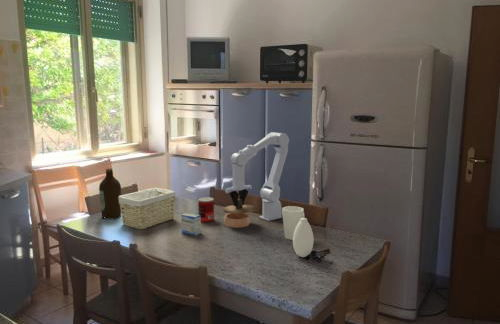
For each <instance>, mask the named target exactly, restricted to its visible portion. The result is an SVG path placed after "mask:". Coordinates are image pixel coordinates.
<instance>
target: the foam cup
mask: <svg viewBox="0 0 500 324" xmlns="http://www.w3.org/2000/svg"><path fill="white" fill-rule="evenodd" d="M304 211H305V210H304V208H303V207H300V206H296V205H295V206H293V205H292V206H291V205H288V206H284V207H281V216H282V222H283V231H284V238H285V239H287V240H291V241H293V235H294V231H295V228H296V226H297V224H298V223H299V222H300V219H301V218H303V213H304V214H305V212H304Z"/></svg>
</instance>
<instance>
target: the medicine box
mask: <svg viewBox="0 0 500 324" xmlns="http://www.w3.org/2000/svg"><path fill="white" fill-rule="evenodd" d="M180 216H181V217H180V218H181V219H180V220H181V225H180V227H181V234H184V233H185V234H184V235H189V234H190V236H198V235H199V234H201V233H202V230H201V229H202V227H201V226H202V225H201V224H202V222H201V215H199V214H196V213H189V212H186V213H185V212H184V213H182V214H181V215H180Z"/></svg>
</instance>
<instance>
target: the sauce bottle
mask: <svg viewBox="0 0 500 324" xmlns="http://www.w3.org/2000/svg"><path fill="white" fill-rule="evenodd" d="M314 242H315V241H314V233H313V229H312V227H311V224H310V223H309V222H308V218H307V217H305V212H304V213H303V218H301V219H300V222H299V223H298V224H297V226H296V228H295V231H294V235H293V240H292V245H293V250H294V252H295V253H296V255H298V256H299V257H301V258H306V257H308V255H310V254H311V252H312V250H313V247H314Z"/></svg>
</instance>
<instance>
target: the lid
mask: <svg viewBox="0 0 500 324" xmlns="http://www.w3.org/2000/svg"><path fill="white" fill-rule="evenodd" d="M255 208H256V207H255V206H254V205H250V204H244V205H242V199H240V198H238V205H237V207H236V206H234V205H233V204H232V205H231V204H230V205H227V206H225V207H223V212H224V213H226V214H228V213H235V214H238V213H246V214H249V213H251V212H255V210H256V209H255Z"/></svg>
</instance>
